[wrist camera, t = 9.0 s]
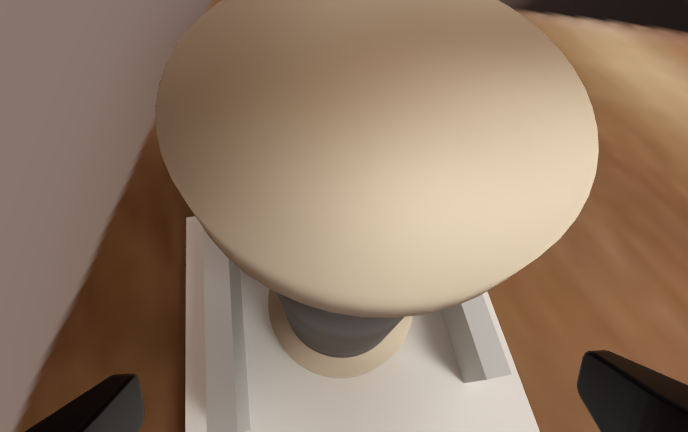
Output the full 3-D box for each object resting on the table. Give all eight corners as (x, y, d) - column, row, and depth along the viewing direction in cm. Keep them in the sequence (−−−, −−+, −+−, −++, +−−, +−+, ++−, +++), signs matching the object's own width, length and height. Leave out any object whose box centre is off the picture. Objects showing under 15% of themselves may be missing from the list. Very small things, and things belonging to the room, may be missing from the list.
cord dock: (575, 569, 14) (653, 620, 11) (196, 684, 12) (149, 789, 9) (439, 192, 21) (460, 153, 18) (193, 227, 20) (167, 191, 16)
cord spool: (436, 324, 17) (690, 146, 5) (316, 411, 15) (299, 428, 3) (359, 218, 19) (416, -68, 8) (246, 281, 17) (94, 29, 6)
